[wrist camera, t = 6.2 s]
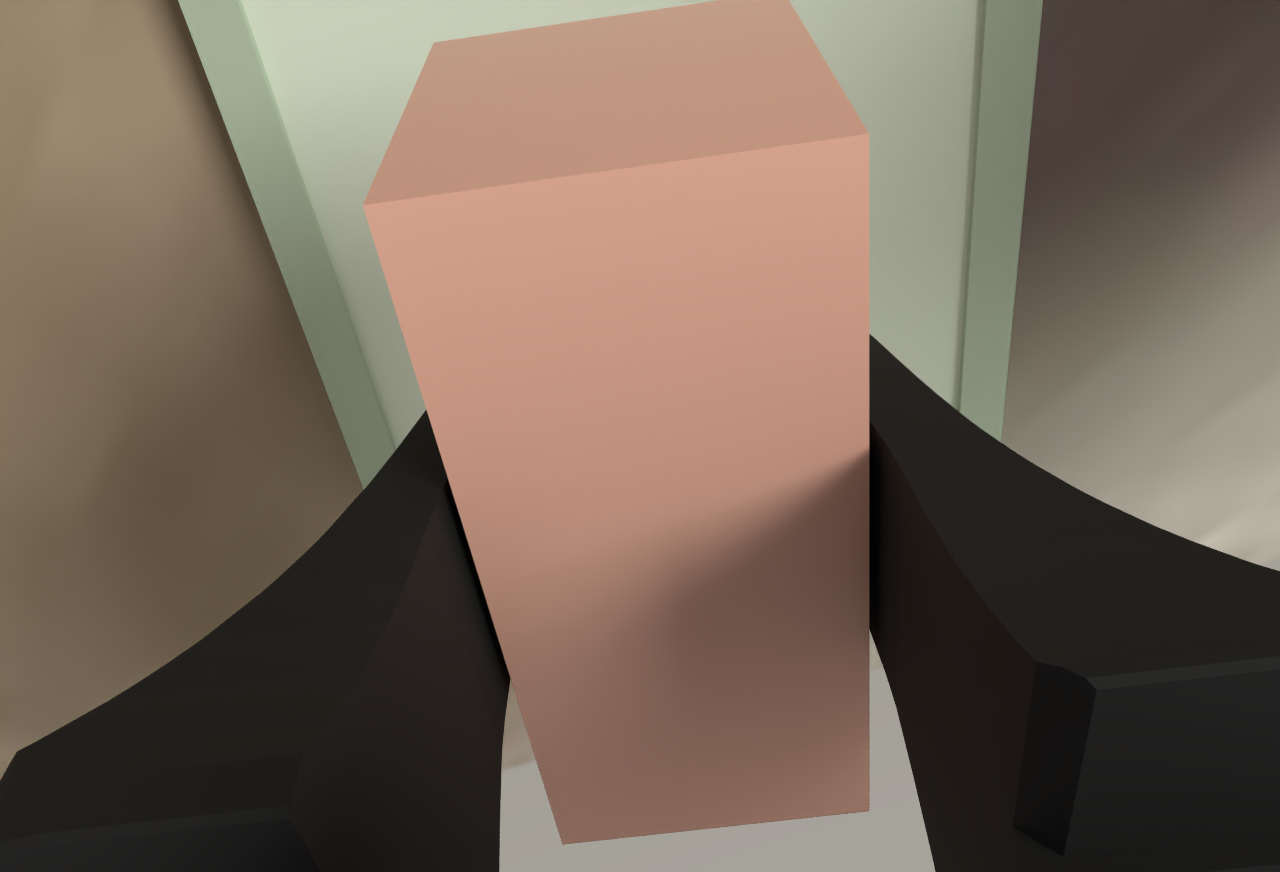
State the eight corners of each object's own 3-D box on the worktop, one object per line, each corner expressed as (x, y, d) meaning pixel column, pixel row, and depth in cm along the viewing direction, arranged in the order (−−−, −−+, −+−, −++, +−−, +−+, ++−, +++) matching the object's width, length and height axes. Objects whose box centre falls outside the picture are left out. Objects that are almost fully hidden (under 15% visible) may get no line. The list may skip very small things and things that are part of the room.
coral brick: (783, -10, 12) (869, 132, 8) (810, 567, 17) (869, 811, 13) (434, 42, 12) (362, 205, 8) (569, 597, 17) (562, 844, 13)
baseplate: (1064, -434, 15) (1084, -438, 15) (990, 425, 25) (1000, 444, 24) (96, -272, 16) (75, -269, 16) (381, 502, 26) (376, 523, 25)
